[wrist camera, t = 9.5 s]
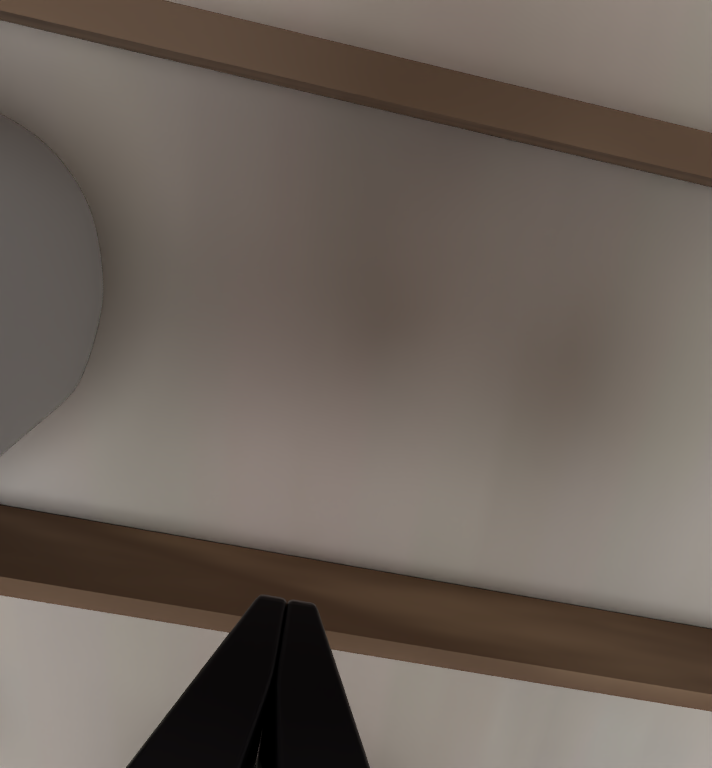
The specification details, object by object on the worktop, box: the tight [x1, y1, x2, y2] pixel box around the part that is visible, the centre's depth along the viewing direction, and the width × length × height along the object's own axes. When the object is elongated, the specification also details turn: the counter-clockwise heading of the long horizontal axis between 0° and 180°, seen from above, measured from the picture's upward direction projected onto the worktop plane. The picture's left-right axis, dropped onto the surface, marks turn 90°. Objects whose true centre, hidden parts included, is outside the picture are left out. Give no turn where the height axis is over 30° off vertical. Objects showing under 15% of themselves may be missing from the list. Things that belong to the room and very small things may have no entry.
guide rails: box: [0, 0, 712, 711], centre depth 15 cm, size 17×41×4 cm, turn 78°
